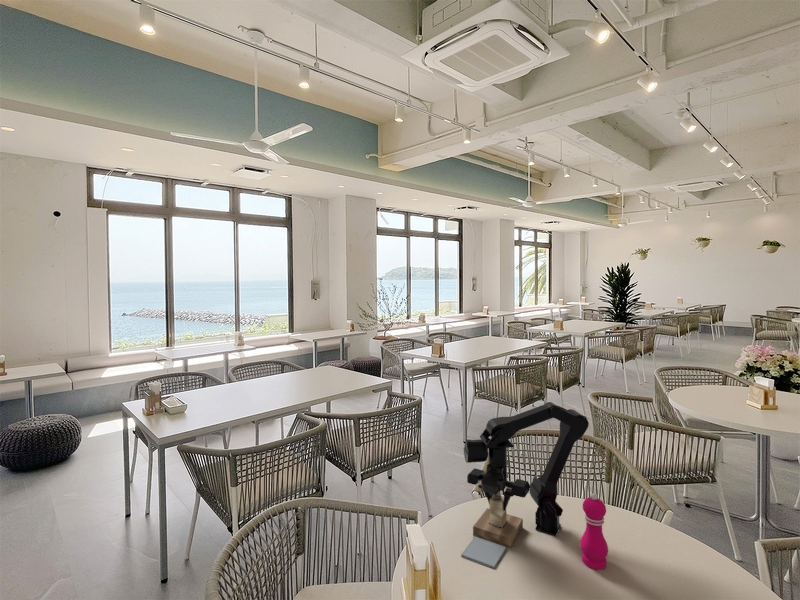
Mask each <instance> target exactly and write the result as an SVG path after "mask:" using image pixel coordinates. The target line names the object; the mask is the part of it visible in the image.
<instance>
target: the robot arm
mask: <svg viewBox="0 0 800 600" xmlns="http://www.w3.org/2000/svg"><path fill="white" fill-rule="evenodd" d="M551 419H555V420H558V421H559V435H558V438H557V440H556V442H555V445H554V447H553V450H552V451H551V454H550V457H549V458H548V462H547V463H546V465H545V468H544V471H543V472H542V475H540V476H538V477H536V476H533V478H532V481H531V483H529V481H528V480H524V479H520V478H516V480H515V481H514V480H508V478H509V474H508V466H509V461H508V448H514V446H515V445H514V444H513V443H512V441H510V440H509V439H511V438H513V437H515V435H516V434H517V433H518V432H520V431H521V430H524V429H527V428H530V427H532V426H535V425H538V424H540V423H543V422H546V421H549V420H551ZM589 425H590V423H589V420H588V418H587V417H586V416H585V415H583V414H581V413H580V412H579V411H577V410H576V409H571V408H570V409H567V408H565V407H562V406H559V405H557V404H555V403H554V402H552V401H547V402H545V403H544V404H542V405H539V406H537V407H533V408H531V409H528V410H526V411H523V412H520V413H517V414H515V415H511V416H498V417H492V418H491V419H489V420H488V421H487V423H486V425H485V426H486V427H485V428H484V430H483V432H481V434H480V435H479V439H465V444H464V447H463V457H464V460H465V462H466V464H468V463H469V464H470V463H484V462H486V461H487V460H488V464H487V465H486V471H485V470H483V469H479V468H472V470H471V471H470V472H469V473H468V474H467V477H466V481H467V484H470V485H474V486H476V485H477V484H478V485H477V487H478V488H479V489H481V490H482V492H484V494H485V496H486V499H487V501H488V504H489V505H488V506H490V501H489V500H490V498H491V497H492V496H493V495H496V494H499V493H500V492H503V493H502V494H503V495H502V496H504V503H503V510H504V511H505V510H506V511H507V507H508V504H509V503H510V499H511V498H512V497H514V496H515V497H519V498H522V499H523V498H526V497H527V495H528V493H529V495H530V497H531V498H532V499H533V501H534V503H535V504H536V505H537V507H536V508H537V509H536V511H535V513H534V514H535V519H534V520H535V530H536V531H539V532H543V533H546V534H548V535H552V536H558V533H559V531H560V529H561V526H562V524H561V523H560V517H561V516H562V515H563V511H564V509H563V508H562V506H560V504H559V503H558V502H557V497H558V482H559V480H560V478H561V474H562V473H563V470H564V468H565V466H566V464H567V461H568V459H569V457H570V454H571V452H572V450H573V448H574V445H575V443H576V442H577V441H578V440H580V439H581V438H583V437H584V435H585V433H586V432H587V430H588V428H589ZM489 437H490V438H489Z"/></svg>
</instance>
